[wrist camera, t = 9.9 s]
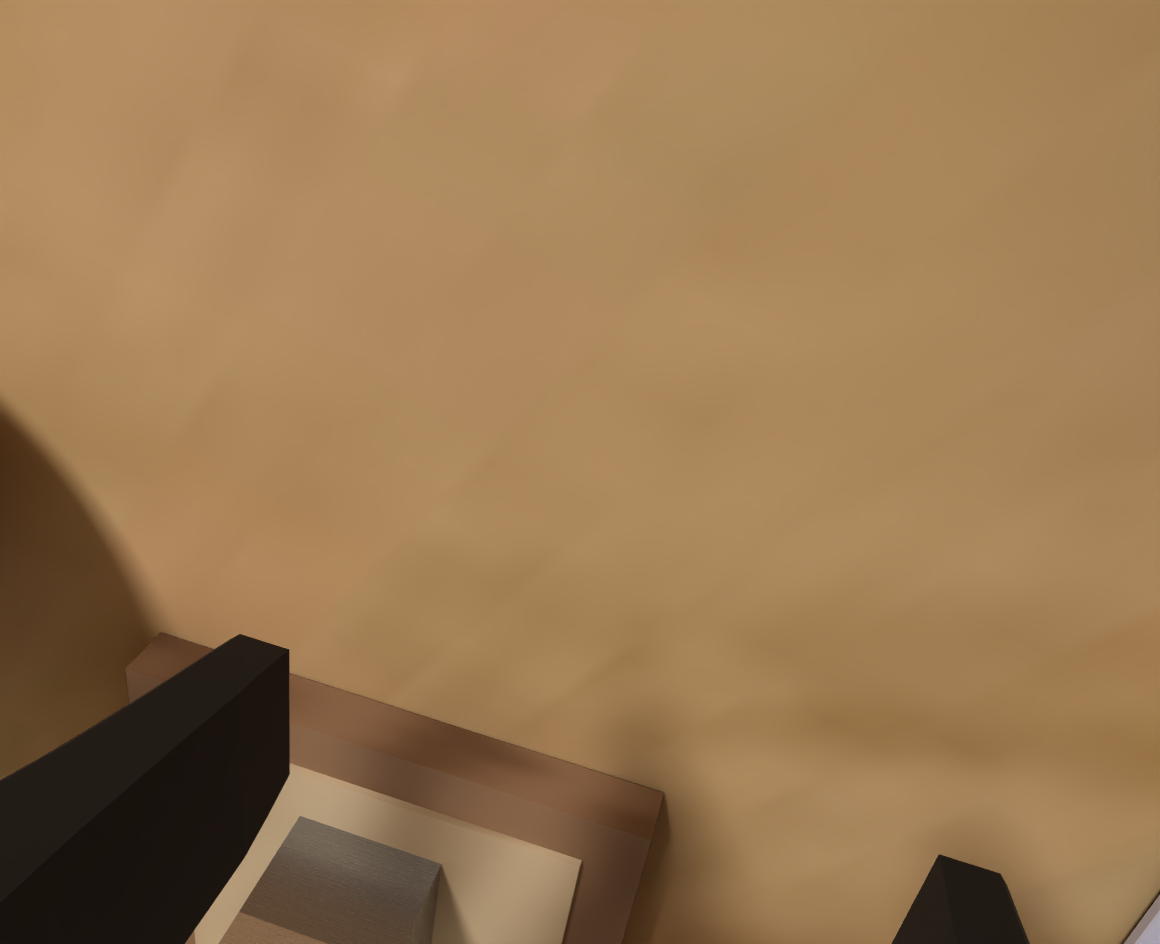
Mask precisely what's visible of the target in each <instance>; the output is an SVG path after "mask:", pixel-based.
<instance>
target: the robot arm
mask: <svg viewBox="0 0 1160 944" xmlns="http://www.w3.org/2000/svg"><path fill="white" fill-rule="evenodd" d="M289 775H290V709H289V649H286V648H282V647H279V646H276V645H273V644H270V643H266V642H263V641H260V640H257V639H254V638H251V637H247V636H244V635H241V634H239V635H237V636H236V637H234V638H232V639H230V640H229V641H227V642H225V643H224V644H222V645H221V646H219V647H217V648H216V649H214V650H213V651H211V652H209V653H208V654H206V655H205V656H203V657H202V658H200V659H199V660H197V661H195V662H194V663H192V664H191V665H189V666H188V667H186V668H185V669H183V670H182V671H180V672H178V673H177V674H175V675H174V676H172V677H171V678H169V679H168V680H166V681H164V682H163V683H161V684H160V685H158V686H157V687H155V688H153V689H152V690H150V691H149V692H147V693H146V694H144V695H142V696H141V697H139V698H138V699H136V700H135V701H133V702H131V703H130V704H128V705H127V706H125V707H124V708H122V709H120V710H119V711H117V712H115V713H114V714H112V715H111V716H109V717H107V718H106V719H104V720H102V721H101V722H99V723H97V724H96V725H94V726H92V727H91V728H89V729H88V730H86V731H84V732H83V733H81V734H79V735H78V736H76V737H74V738H73V739H71V740H69V741H68V742H66V743H64V744H63V745H61V746H60V747H58V748H56V749H55V750H53V751H51V752H49V753H48V754H46V755H44V756H43V757H41V758H39V759H37V760H36V761H34V762H32V763H30V764H29V765H27V766H25V767H23V768H21V769H20V770H18V771H16V772H14V773H12V774H11V775H9V776H7V777H5V778H3V779H2V780H0V944H185V943H186V941H187V940H188V938H189V937H190V936H191V934H192V933H193V931H194V930H195V929H196V927H197V926H198V924H199V923H200V921H201V920H202V919H203V917H204V916H205V914H206V913H207V911H208V910H209V909H210V907H211V906H212V904H213V903H214V901H215V900H216V898H217V897H218V896H219V894H220V893H221V891H222V890H223V888H224V887H225V886H226V884H227V883H228V881H229V880H230V878H231V877H232V875H233V874H234V872H235V871H236V870H237V868H238V867H239V865H240V864H241V862H242V861H243V859H244V858H245V856H246V855H247V853H248V851H249V849H250V847H251V846H252V844H253V842H254V840H255V838H256V837H257V835H258V833H259V831H260V829H261V828H262V826H263V824H264V822H265V820H266V819H267V817H268V815H269V813H270V811H271V809H272V807H273V805H274V803H275V801H276V800H277V798H278V796H279V794H280V792H281V790H282V788H283V786H284V784H285V782H286V781H287V779H288V777H289ZM892 944H1029V941H1028V939H1027V936H1026V934H1025V931H1024V928H1023V926H1022V923H1021V921H1020V918H1019V916H1018V913H1017V910H1016V908H1015V905H1014V903H1013V900H1012V897H1011V895H1010V892H1009V890H1008V887H1007V884H1006V883H1005V881H1004V879H1003V878H1002V876H1001V874H1000V873H996V872H993V871H990V870H987V869H984V868H981V867H977V866H974V865H971V864H968V863H965V862H962V861H958V860H955V859H952V858H949V857H946V856H943V855H938V857H937V859H936V861H935V863H934V865H933V867H932V868H931V870H930V872H929V874H928V876H927V878H926V880H925V882H924V884H923V885H922V887H921V889H920V891H919V893H918V895H917V897H916V899H915V901H914V902H913V904H912V906H911V908H910V910H909V912H908V914H907V916H906V918H905V919H904V921H903V923H902V925H901V927H900V929H899V931H898V933H897V935H896V936H895V938H894V940H893V942H892ZM1124 944H1160V895H1159V896H1158V898H1157V899H1156V900H1155V902H1154V903H1153V904H1152V906H1151V907H1150V909H1149V910H1148V911H1147V913H1146V914H1145V915H1144V917H1143V918H1142V919H1141V921H1140V922H1139V923H1138V925H1137V926H1136V928H1135V929H1134V930H1133V932H1132V933H1131V934H1130V936H1129V937H1128V938H1127V940H1126V941H1125V943H1124Z"/></svg>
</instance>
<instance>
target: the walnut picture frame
mask: <svg viewBox="0 0 1160 944" xmlns="http://www.w3.org/2000/svg"><path fill="white" fill-rule="evenodd" d="M213 650H214V649H210V648H207V647H204V646H201V645H198V644H195V643H192V642H188V641H185V640H182V639H179V638H176V637H173V636H170V635H167V634H163V633H159V634H158V635H157V636H156V637H155V638H154V640H153V641H152V642H151V643H150V644H149V645H148V646H147V647H146V648H145V649H144V650H143V651H142V652H141V653H140V654H139V655H138V656H137V657H136V658H135V659H134V660H133V661H132V662H131V663H130V664H129V665H128V666H127V667H126V668H125V672H126V680H127V688H128V696H129V704H130V703H131V702H133V701H135V700H136V699H138V698H139V697H141V696H142V695H144V694H146V693H147V692H149V691H150V690H152V689H153V688H155V687H157V686H158V685H160V684H161V683H163V682H164V681H166V680H168V679H169V678H171V677H172V676H174V675H175V674H177V673H178V672H180V671H182V670H183V669H185V668H186V667H188V666H189V665H191V664H192V663H194V662H195V661H197V660H199V659H200V658H202V657H203V656H205V655H206V654H208V653H209V652H211V651H213ZM289 709H290V775H289V777H288V779H287V781H286V782H285V784H284V786H283V788H282V790H281V792H280V794H279V796H278V798H277V800H276V801H275V803H274V805H273V807H272V809H271V811H270V813H269V815H268V817H267V819H266V820H265V822H264V824H263V826H262V828H261V829H260V831H259V833H258V835H257V837H256V838H255V840H254V842H253V844H252V846H251V847H250V849H249V851H248V853H247V855H246V856H245V858H244V859H243V861H242V862H241V864H240V865H239V867H238V868H237V870H236V871H235V872H234V874H233V875H232V877H231V878H230V880H229V881H228V883H227V884H226V886H225V887H224V888H223V890H222V891H221V893H220V894H219V896H218V897H217V898H216V900H215V901H214V903H213V904H212V906H211V907H210V909H209V910H208V911H207V913H206V914H205V916H204V917H203V919H202V920H201V921H200V923H199V924H198V926H197V927H196V929H195V930H194V931H193V933H192V934H191V936H190V937H189V938H188V940H187V941H186V943H185V944H219V942H220V941H221V939H222V937H223V936H224V934H225V933H226V931H227V930H228V928H229V926H230V925H231V923H232V922H233V920H234V919H235V917H236V915H237V914H238V912H239V911H240V909H241V908H242V906H243V904H244V903H245V901H246V900H247V898H248V897H249V895H250V893H251V892H252V890H253V889H254V887H255V885H256V884H257V882H258V881H259V879H260V878H261V876H262V874H263V873H264V871H265V870H266V868H267V867H268V865H269V863H270V862H271V860H272V859H273V857H274V856H275V854H276V852H277V851H278V849H279V848H280V846H281V845H282V843H283V841H284V840H285V838H286V837H287V835H288V834H289V832H290V830H291V829H292V827H293V826H294V824H295V823H296V821H297V819H298V818H299V816H302V817H305V818H308V819H311V820H314V821H317V822H320V823H323V824H326V825H328V826H331V827H334V828H337V829H340V830H343V831H346V832H349V833H352V834H355V835H358V836H361V837H364V838H367V839H370V840H372V841H375V842H378V843H381V844H384V845H387V846H390V847H393V848H396V849H399V850H402V851H405V852H408V853H411V854H414V855H416V856H419V857H422V858H425V859H428V860H431V861H434V862H437V863H440V864H441V871H440V879H439V887H438V895H437V903H436V911H435V920H434V928H433V936H432V944H622V941H623V937H624V934H625V931H626V927H627V924H628V920H629V917H630V913H631V910H632V906H633V903H634V900H635V896H636V893H637V889H638V886H639V882H640V879H641V875H642V872H643V868H644V865H645V862H646V858H647V855H648V851H649V848H650V844H651V841H652V837H653V833H654V829H655V825H656V821H657V818H658V814H659V810H660V806H661V802H662V798H663V794H664V793H662V792H659V791H656V790H653V789H650V788H647V787H643V786H640V785H637V784H634V783H631V782H628V781H625V780H621V779H618V778H615V777H612V776H609V775H606V774H603V773H600V772H596V771H593V770H590V769H587V768H584V767H581V766H578V765H574V764H571V763H568V762H565V761H562V760H559V759H556V758H552V757H549V756H546V755H543V754H540V753H537V752H534V751H530V750H527V749H524V748H521V747H518V746H515V745H512V744H509V743H505V742H502V741H499V740H496V739H493V738H490V737H487V736H483V735H480V734H477V733H474V732H471V731H468V730H465V729H461V728H458V727H455V726H452V725H449V724H446V723H443V722H440V721H436V720H433V719H430V718H427V717H424V716H421V715H418V714H414V713H411V712H408V711H405V710H402V709H399V708H396V707H392V706H389V705H386V704H383V703H380V702H377V701H374V700H370V699H367V698H364V697H361V696H358V695H355V694H352V693H349V692H345V691H342V690H339V689H336V688H333V687H330V686H327V685H323V684H320V683H317V682H314V681H311V680H308V679H305V678H301V677H298V676H295V675H292V674H289Z"/></svg>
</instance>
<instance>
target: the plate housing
mask: <svg viewBox="0 0 1160 944" xmlns="http://www.w3.org/2000/svg"><path fill="white" fill-rule="evenodd" d="M440 871H441V864H440V863H437V862H434V861H431V860H428V859H425V858H422V857H419V856H416V855H414V854H411V853H408V852H405V851H402V850H399V849H396V848H393V847H390V846H387V845H384V844H381V843H378V842H375V841H372V840H370V839H367V838H364V837H361V836H358V835H355V834H352V833H349V832H346V831H343V830H340V829H337V828H334V827H331V826H328V825H326V824H323V823H320V822H317V821H314V820H311V819H308V818H305V817H302V816H299V818H298V819H297V821H296V823H295V824H294V826H293V827H292V829H291V830H290V832H289V834H288V835H287V837H286V838H285V840H284V841H283V843H282V845H281V846H280V848H279V849H278V851H277V852H276V854H275V856H274V857H273V859H272V860H271V862H270V863H269V865H268V867H267V868H266V870H265V871H264V873H263V874H262V876H261V878H260V879H259V881H258V882H257V884H256V885H255V887H254V889H253V890H252V892H251V893H250V895H249V897H248V898H247V900H246V901H245V903H244V904H243V906H242V908H241V909H240V911H239V912H238V914H237V915H236V917H235V919H234V920H233V922H232V923H231V925H230V926H229V928H228V930H227V931H226V933H225V934H224V936H223V937H222V939H221V941H220V942H219V944H432V936H433V928H434V920H435V911H436V903H437V895H438V887H439V879H440Z"/></svg>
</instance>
